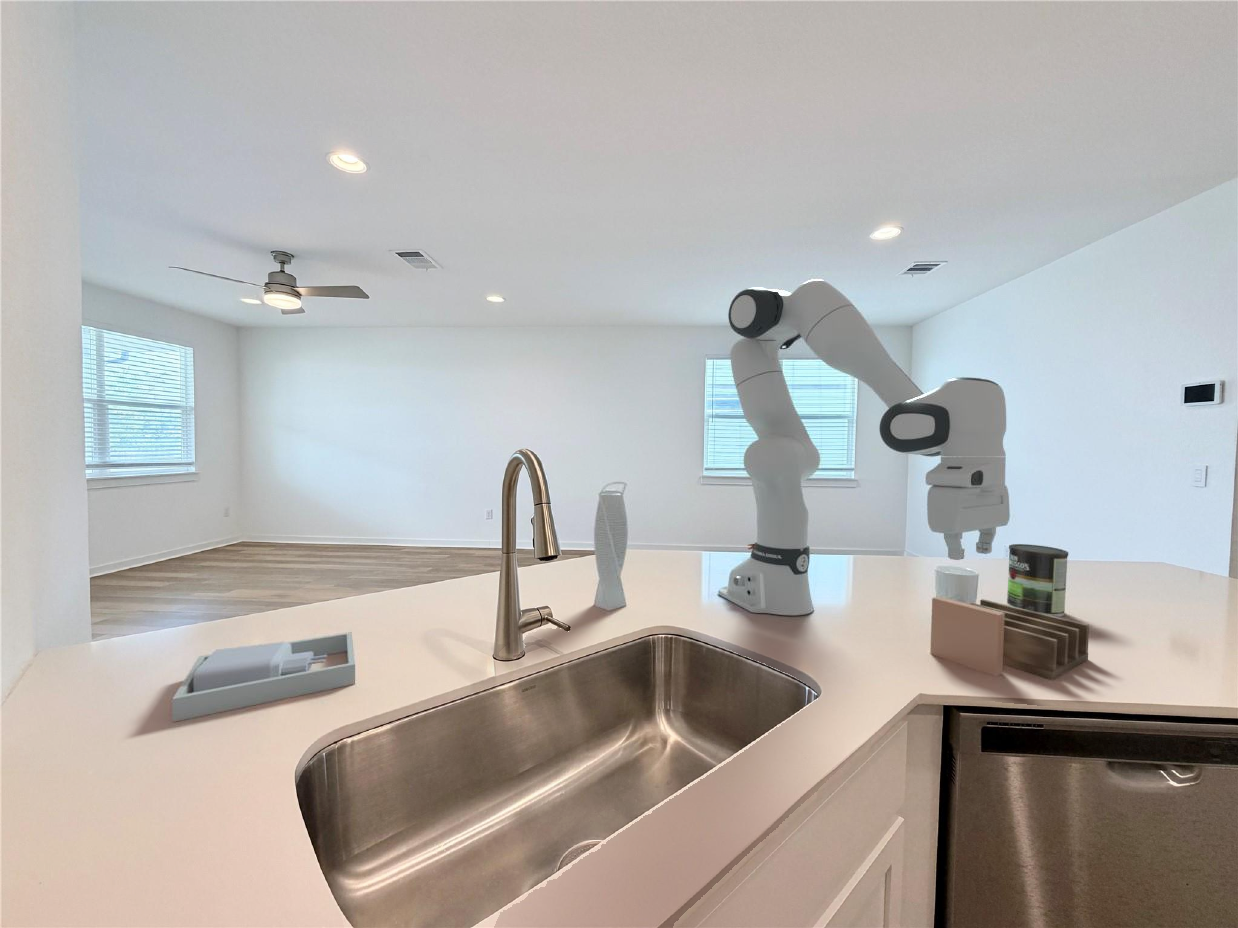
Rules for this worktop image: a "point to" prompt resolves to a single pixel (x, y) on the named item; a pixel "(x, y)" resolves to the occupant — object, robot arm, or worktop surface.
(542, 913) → the worktop surface
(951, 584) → the white cup
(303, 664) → the charger
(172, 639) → the worktop surface
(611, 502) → the skyscraper
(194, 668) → the tray
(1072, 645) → the dish rack
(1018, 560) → the coffee can
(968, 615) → the tan wooden panel
